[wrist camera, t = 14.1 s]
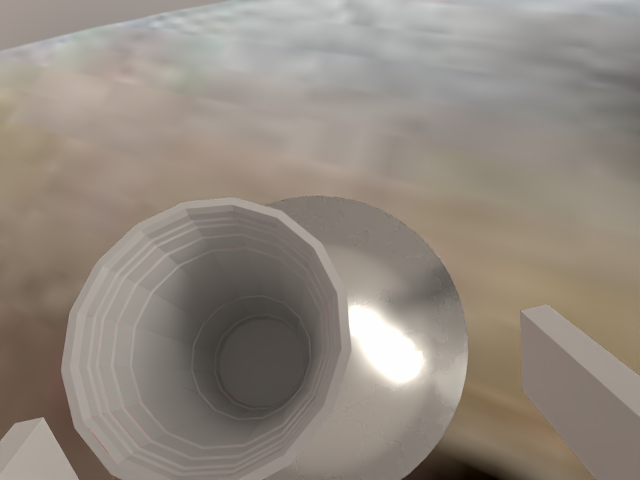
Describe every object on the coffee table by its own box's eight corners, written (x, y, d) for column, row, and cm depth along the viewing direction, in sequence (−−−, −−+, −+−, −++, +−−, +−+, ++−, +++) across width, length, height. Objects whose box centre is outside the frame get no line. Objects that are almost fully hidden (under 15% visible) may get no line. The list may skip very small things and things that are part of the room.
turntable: (409, 184, 32) (413, 170, 30) (509, 461, 24) (522, 464, 22) (166, 237, 32) (155, 226, 30) (180, 537, 23) (165, 547, 22)
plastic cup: (139, 397, 25) (-19, 385, 14) (239, 255, 28) (176, 156, 17) (286, 502, 22) (237, 592, 11) (375, 333, 26) (405, 274, 15)
